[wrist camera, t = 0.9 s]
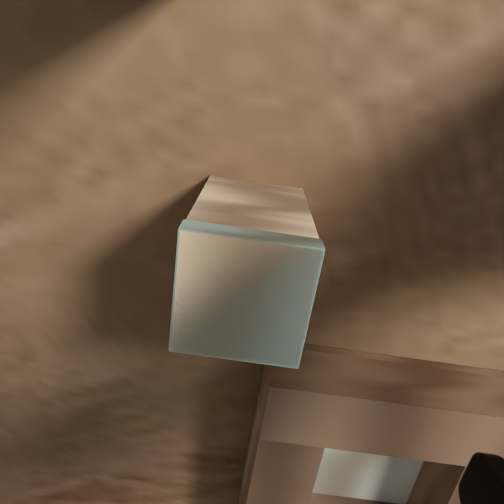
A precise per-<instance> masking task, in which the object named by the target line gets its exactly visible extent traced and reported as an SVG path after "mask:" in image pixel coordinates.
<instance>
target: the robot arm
mask: <svg viewBox="0 0 504 504" xmlns="http://www.w3.org/2000/svg"><path fill="white" fill-rule="evenodd" d="M458 492H459V499H460V503H461V504H504V458H502V457H501V456H499V455H496V454H489V453H482V452H477V453H475V454H474V455H472V457H471V459H470V461H469V463H468V465H467V467H466V470H465V472H464V474H463V476H462V478H461V480H460V483H459V489H458Z"/></svg>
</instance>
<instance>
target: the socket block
mask: <svg viewBox="0 0 504 504" xmlns="http://www.w3.org/2000/svg"><path fill="white" fill-rule="evenodd" d="M477 452H482V453H489V454H496V455H499V456H501V457H502V458H504V371H498V370H491V369H483V368H476V367H469V366H461V365H454V364H447V363H440V362H432V361H425V360H418V359H411V358H403V357H396V356H389V355H381V354H374V353H367V352H360V351H352V350H345V349H338V348H330V347H323V346H316V345H309V344H304V347H303V351H302V355H301V360H300V364H299V369H295V368H288V367H281V366H273V365H266V364H264V368H263V373H262V378H261V384H260V389H259V394H258V400H257V405H256V410H255V416H254V421H253V426H252V432H251V437H250V442H249V448H248V453H247V458H246V464H245V469H244V475H243V480H242V485H241V491H240V496H239V501H238V504H461V503H460V499H459V492H458V489H459V483H460V480H461V478H462V476H463V474H464V472H465V470H466V467H467V465H468V463H469V461H470V459H471V457H472V455H474V454H475V453H477Z"/></svg>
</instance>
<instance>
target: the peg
mask: <svg viewBox="0 0 504 504" xmlns="http://www.w3.org/2000/svg"><path fill="white" fill-rule="evenodd" d="M325 250H326V249H325V246H324V243H323V241H322V239H319V236H318V233H317V230H316V227H315V224H314V221H313V218H312V215H311V212H310V209H309V206H308V203H307V200H306V197H305V194H304V191H303V189H302V188H295V187H288V186H281V185H274V184H268V183H261V182H254V181H247V180H241V179H234V178H227V177H220V176H213V175H210V177H209V178H208V180H207V182H206V184H205V186H204V188H203V189H202V191H201V193H200V195H199V197H198V198H197V200H196V202H195V204H194V206H193V207H192V209H191V211H190V213H189V215H188V216H187V218H186V219H183V221H182V222H181V224H180V226H179V228H178V237H177V250H176V263H175V275H174V288H173V300H172V313H171V325H170V338H169V351H170V352H177V353H185V354H192V355H200V356H207V357H214V358H222V359H229V360H236V361H244V362H251V363H259V364H266V365H273V366H281V367H288V368H295V369H299V364H300V360H301V355H302V351H303V347H304V342H305V338H306V333H307V329H308V325H309V320H310V316H311V311H312V307H313V302H314V298H315V294H316V289H317V285H318V280H319V276H320V272H321V267H322V263H323V258H324V254H325Z"/></svg>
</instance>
